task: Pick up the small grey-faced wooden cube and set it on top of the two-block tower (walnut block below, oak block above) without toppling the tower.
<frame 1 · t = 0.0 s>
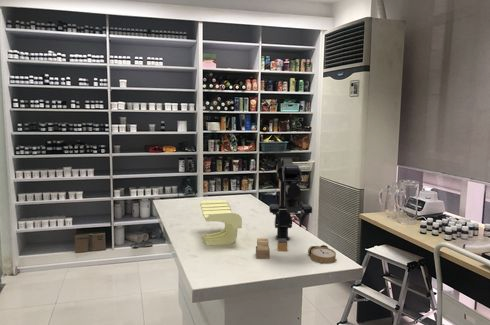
hand: (289, 227, 175), 15 cm above the table, fingers open, 9 cm apart
slatted curved stool: (219, 240, 202), on the table
oak block: (262, 248, 179), point 4 cm above the table, touching walnut block
grey-faced wooden cube: (282, 249, 188), on the table
walnut block: (262, 256, 179), on the table, touching oak block
alarm clock: (321, 258, 179), on the table
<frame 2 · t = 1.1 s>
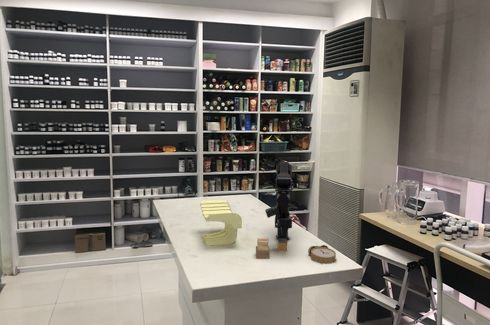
hand: (282, 233, 187), 8 cm above the table, fingers open, 9 cm apart
nothing on the table moved.
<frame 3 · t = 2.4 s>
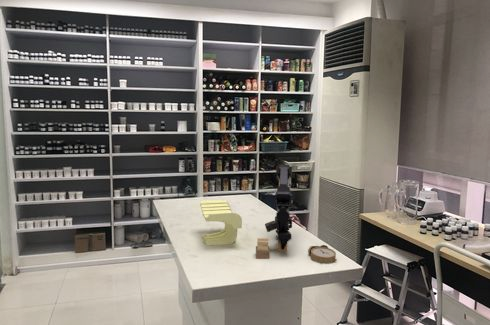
hand: (282, 247, 188), 1 cm above the table, fingers closed on grey-faced wooden cube, 4 cm apart
grey-faced wooden cube: (282, 249, 188), on the table, touching gripper
everything else where it was.
when the fingers open (9 cm above the table, at t = 5.3 s): grey-faced wooden cube moves 1 cm, point 8 cm above the table.
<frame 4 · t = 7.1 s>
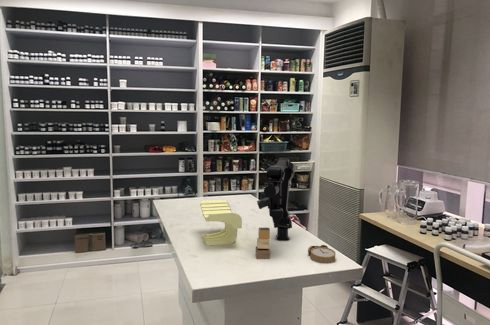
hand: (274, 224, 186), 12 cm above the table, fingers open, 9 cm apart
oak block: (263, 247, 178), point 4 cm above the table, tilted 12°, touching walnut block
grey-faced wooden cube: (264, 238, 179), point 8 cm above the table, tilted 12°
everything else where it was.
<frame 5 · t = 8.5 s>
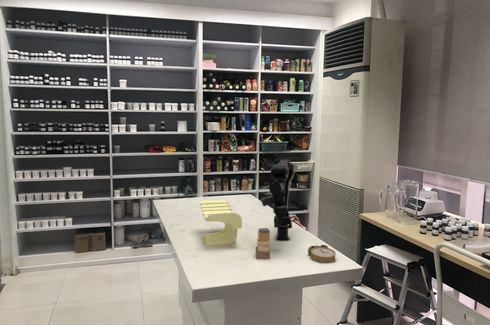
hand: (278, 222, 188), 13 cm above the table, fingers open, 9 cm apart
oak block: (263, 249, 178), point 4 cm above the table, touching grey-faced wooden cube, walnut block
grey-faced wooden cube: (263, 240, 178), point 8 cm above the table, touching oak block
everything else where it was.
at the end: grey-faced wooden cube 0.7 cm off-centre on the oak block, point 4.0 cm above the oak block's base; oak block 0.6 cm off-centre on the walnut block, point 4.0 cm above the walnut block's base; grey-faced wooden cube tilted 0° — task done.
